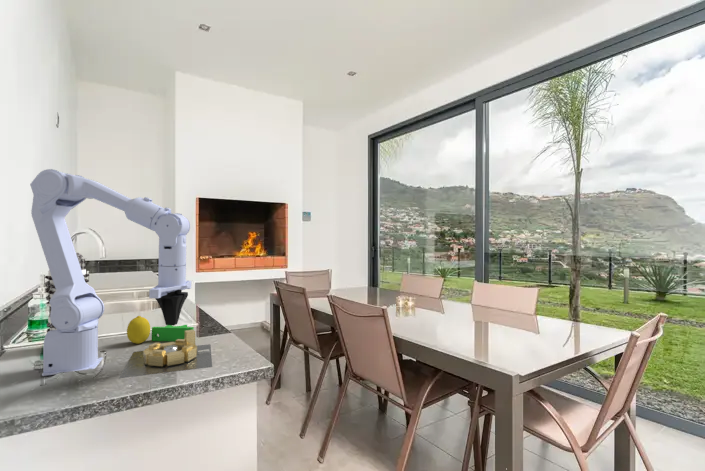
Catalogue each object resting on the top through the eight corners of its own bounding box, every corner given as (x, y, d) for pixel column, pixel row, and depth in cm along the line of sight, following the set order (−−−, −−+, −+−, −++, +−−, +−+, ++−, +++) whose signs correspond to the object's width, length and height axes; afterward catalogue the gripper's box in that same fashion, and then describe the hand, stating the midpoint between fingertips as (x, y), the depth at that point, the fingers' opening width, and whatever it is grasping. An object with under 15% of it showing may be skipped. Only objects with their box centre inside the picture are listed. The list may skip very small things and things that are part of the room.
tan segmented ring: (148, 369, 81) (148, 343, 81) (141, 355, 90) (141, 332, 89) (201, 359, 87) (201, 335, 87) (189, 347, 96) (189, 325, 96)
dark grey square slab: (119, 380, 77) (119, 364, 77) (133, 354, 93) (133, 340, 93) (212, 369, 83) (212, 354, 83) (210, 346, 100) (210, 333, 100)
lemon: (154, 344, 102) (154, 315, 101) (133, 349, 97) (133, 319, 97) (143, 341, 105) (144, 312, 105) (122, 345, 100) (122, 316, 100)
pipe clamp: (197, 340, 106) (197, 324, 106) (191, 344, 103) (191, 328, 103) (158, 339, 106) (158, 323, 106) (151, 343, 103) (151, 327, 103)
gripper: (172, 268, 78) (171, 333, 78) (203, 263, 93) (202, 317, 93) (140, 268, 78) (139, 332, 79) (176, 262, 93) (175, 316, 93)
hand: (171, 324), depth 86 cm, fingers closed
